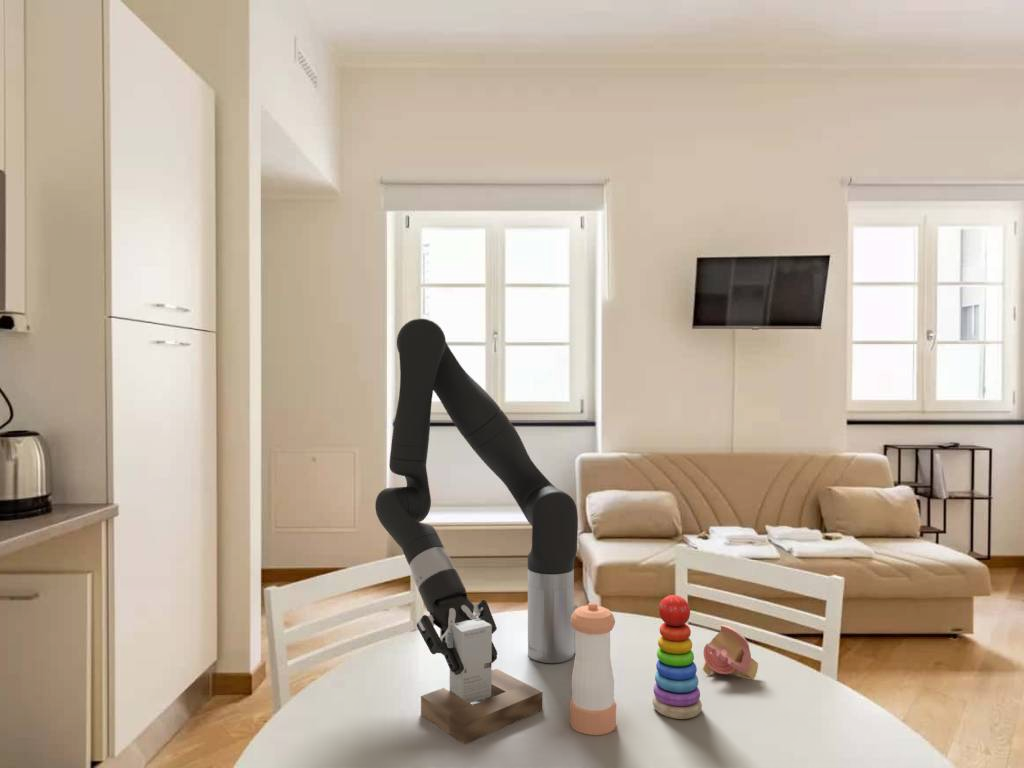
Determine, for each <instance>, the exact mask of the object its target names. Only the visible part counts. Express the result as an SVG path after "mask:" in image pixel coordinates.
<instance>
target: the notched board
mask: <svg viewBox="0 0 1024 768" xmlns="http://www.w3.org/2000/svg"><path fill="white" fill-rule="evenodd" d="M541 711H543V691H541V690H540V689H538V688H536V687H533V686H531V685H530V684H527V683H526V682H524V681H522V680H519V679H517V678H515V677H513V676H512V675H509V674H508V673H506V672H504V671H502V670H501V669H498V668H495V669H492V674H491V697H489V698H486V699H483V700H480V701H478V702H477V703H476V702H475V703H474V704H473V703H468V702H467V701H465V700H463V699H462V698H460V697H458V696H456V695H455V694H453V693H451V692H450V690H448V689H446V688H445V687H442V688H439V689H437V690H435V691H431V692H428V693H425V694H422V695H421V696H420V715H421V716H423V717H424V718H425V719H426V720H429V721H430V722H431V723H433V724H435V726H438V727H439V728H440V727H441V728H440V729H442V730H444V731H445V732H446V731H447V732H446V733H448V734H449V733H450V735H451V736H452V737H454V738H456V739H457V740H458V741H460V742H461V741H462V742H461V743H463V744H465V745H466V744H468V743H470V742H471V743H472V742H473V741H475V740H478V739H480V738H482V737H485V736H487V735H489V734H491V733H494V732H496V731H497V730H500V729H502V728H504V727H507V726H509V725H512V724H514V723H517V722H518V721H521V720H523V719H525V718H527V717H531V716H532V715H534V714H537V713H539V712H541Z"/></svg>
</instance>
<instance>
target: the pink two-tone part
mask: <svg viewBox="0 0 1024 768" xmlns="http://www.w3.org/2000/svg"><path fill="white" fill-rule="evenodd" d="M703 658H704V662H703V663H704V664H703V667H702V671H703V672H704V673H705V674H706V676H707V675H708V677H710V676H711V675H712V673H713V672H716V673H717V674H720V675H729V674H731V675H734V676H737V677H740V678H745V679H750V680H752V681H754V680H755V678H756V676H757V673H758V668H759V663H758V662H757V661H756V660H755V659H754V658H752V653H751V650H750V644H749V642H748V640H747V639H746V638H745V637H744V635H743V634H742V633H741V632H739V631H738V630H737V629H735V628H733V627H732V626H729V625H726V624H721V625H720V631H719V632H718V633H717V634H716V635H715V636H714V637H713V638H712V640H711V641H710V642H709V643H706V644H705V646H704V647H703Z"/></svg>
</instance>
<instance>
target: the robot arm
mask: <svg viewBox="0 0 1024 768" xmlns="http://www.w3.org/2000/svg"><path fill="white" fill-rule="evenodd" d="M396 349H397V351H398V356H399V370H400V371H399V377H400V378H399V379H400V380H399V392H398V393H399V396H398V401H397V407H396V413H395V419H394V422H393V423H394V424H393V430H392V434H391V435H392V437H391V445H390V453H389V470H390V472H391V473H393V474H395V475H397V476H402V477H405V481H406V486H395V487H388V488H384V489H382V490H381V491H380V492H379V493H378V495H377V496H376V499H375V504H374V505H375V513H376V517H377V518H378V520H379V522H380V524H381V525H382V527H383V528H384V529H385V531H386V532H387V533H388V534H389V535H390V536H391V538H392V539H393V541H395V542H396V544H397V545H398V546H399V547H400V548H401V550H402V552H403V554H404V557H405V559H406V562H407V564H408V566H409V569H410V571H411V572H410V573H411V576H412V578H413V582H414V583H415V586H416V588H417V590H418V593H419V595H420V598H421V599H422V602H423V604H424V607H425V609H426V611H427V612H428V613H429V615H427V614H424V615H422V616H421V618H420V619H419V621H418V622H417V623H416V627H417V630H418V632H419V633H420V635H421V637H422V639H423V641H424V642H425V645H426V647H427V648H428V650H429V651H430V653H431V654H432V655H436V654H441V655H442V656H443V657H444V659H445V661H446V663H447V665H448V668H449V671H450V670H451V671H452V672H454V674H455V675H458V674H460V673H461V672H462V671H463V670H464V666H463V664H462V662H461V659H460V657H459V655H458V653H457V650H456V648H453V630H452V627H451V624H454V623H459V622H463V621H468V620H475V619H482V620H484V621H485V622H487V623H489V624H491V625H492V635H493V634H494V633H495V632H496V631H497V629H498V628H497V627H498V626H497V625H496V623H495V620H494V616H493V614H492V612H491V609H490V607H489V605H488V602H487V600H485V599H482V600H481V601H479V602H477V603H473V602H472V601H471V600H469V598H468V595H467V590H466V587H465V586H464V583H463V581H462V580H461V577H460V575H459V573H458V571H457V568H456V567H455V564H454V562H453V560H452V558H451V557H450V555H449V554H448V552H447V551H446V549H445V546H444V545H443V543H442V540H441V539H440V536H439V535H438V532H437V531H436V528H434V526H432V525H431V524H428V523H424V522H423V521H424V520H425V519H426V518H427V517H428V515H429V513H430V510H431V506H432V505H431V504H432V498H431V492H430V485H429V477H428V471H427V460H428V452H429V442H430V434H431V433H430V432H431V431H430V428H431V415H432V414H431V412H432V402H433V395H434V394H433V393H435V395H436V396H437V398H438V399H439V401H440V403H441V404H442V406H443V408H444V409H445V412H447V415H448V416H449V417H450V419H451V421H452V423H453V424H454V426H455V428H456V429H457V430H458V431H459V433H460V434H461V436H462V437H463V438H464V439H465V441H466V442H467V443H468V445H469V446H470V447H471V448H472V450H473V451H474V452H475V454H476V455H477V456H478V457H479V458H480V460H481V461H482V462H483V463H484V464H485V465H486V466H487V467H488V468H489V469H490V470H491V472H492V473H494V474H495V475H496V477H498V478H499V479H500V481H501V482H502V483H503V484H504V485H505V487H506V488H507V490H508V491H509V492H510V494H511V496H512V498H513V499H514V500H515V502H516V504H517V505H518V507H519V508H520V510H521V512H522V513H523V514H522V515H523V516H524V517H525V518H526V520H527V522H528V524H529V525H531V529H532V530H531V550H530V552H529V553H528V556H527V655H528V657H529V658H530V659H532V660H534V661H536V662H539V663H544V664H545V663H546V664H559V663H560V664H561V663H564V662H568V661H570V660H572V659H573V658H574V656H575V652H576V630H575V629H574V628H573V626H572V623H571V620H570V619H571V615H572V614H573V612H574V611H575V609H577V608H578V605H577V604H575V594H574V592H575V585H574V584H575V583H574V581H575V577H574V576H575V574H574V573H575V571H574V568H575V558H576V556H577V552H578V551H577V550H578V527H579V518H578V516H579V515H578V508H577V505H576V502H575V500H574V499H573V497H571V495H570V494H569V493H567V492H565V491H563V490H561V489H559V488H557V487H556V486H555V485H553V483H552V482H551V481H549V479H548V478H547V476H545V475H544V474H543V472H541V470H540V469H539V468H538V467H537V466H536V465H535V463H534V462H533V461H532V458H531V457H530V455H529V453H528V452H527V449H526V447H525V445H524V443H523V441H522V439H521V437H520V435H519V433H518V431H517V429H516V428H515V426H514V425H513V423H512V422H511V420H510V419H509V418H508V416H507V415H506V414H505V412H504V410H502V408H501V407H500V406H499V404H498V403H496V401H495V400H494V398H492V396H491V395H490V394H489V393H488V392H487V391H486V390H485V389H484V388H483V387H482V386H481V385H480V384H479V383H478V382H477V381H475V379H473V378H472V377H471V376H470V374H468V372H466V370H465V369H464V368H463V366H462V365H461V364H460V362H459V361H458V359H457V358H456V356H455V355H454V353H453V352H452V350H451V348H450V347H449V345H448V343H447V339H446V335H445V332H444V331H443V329H442V328H441V327H440V326H439V324H438V323H437V322H435V321H433V320H431V319H430V318H429V319H428V318H425V317H422V318H421V317H419V318H414V319H411V320H408V321H407V322H406V323H404V325H402V327H401V328H400V329H399V331H398V334H397V337H396ZM434 625H435V626H436V627H437V628H439V634H438V632H437V630H436V629H435V627H434ZM497 659H498V651H497V648H496V646H495V645H494V643H493V641H492V664H493V663H495V661H496V660H497Z"/></svg>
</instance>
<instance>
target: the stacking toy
mask: <svg viewBox="0 0 1024 768" xmlns="http://www.w3.org/2000/svg"><path fill="white" fill-rule="evenodd" d="M658 612H659V616H660V619H661V620H662V621H663V622H664V623H661V625H660V626H659V634H660V637H659V638H658V641H657V645H658V647H659V648H658V650H657V651H656V656H657V659H658V660H657V662H656V663H655V664H656V665H655V667H656V670H657V671H656V673H655V674H654V680H655V683H654V686H653V694H654V696H653V698H652V705H653V708H654V709H655V710H656V711H657V712H658V713H659V714H661V715H663V716H665V717H668V718H671V719H678V720H685V719H687V720H688V719H691V718H694V717H696V716H698V715H700V713H701V711H702V709H703V708H702V707H703V705H702V700H700V699H701V698H700V697H701V692H700V689H699V687H698V686H699V677H698V675H697V674H696V673H697V670H698V669H697V665H696V663H695V661H694V660H695V653H694V652H693V650H692V648H693V642H692V640H691V638H690V636H691V633H692V631H691V628H690V626H689V625H688V624H687V622H688V620H689V619H690V616H691V608H690V605H689V603H688V601H687V600H686V599H685V598H684V597H682V596H680V595H677V594H670V595H667V596H665V597H664V598H662V599H661V601H660V602H659V607H658Z"/></svg>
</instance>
